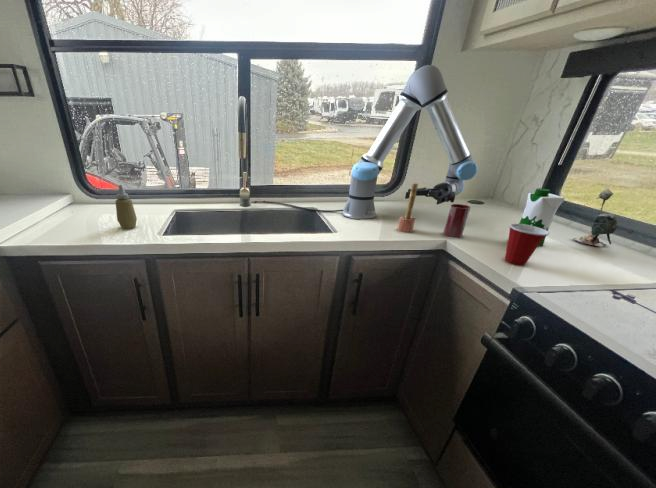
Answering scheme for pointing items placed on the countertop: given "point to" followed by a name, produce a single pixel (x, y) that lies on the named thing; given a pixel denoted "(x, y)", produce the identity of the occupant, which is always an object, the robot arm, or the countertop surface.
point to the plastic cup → (523, 242)
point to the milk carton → (541, 209)
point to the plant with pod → (601, 224)
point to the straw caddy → (406, 224)
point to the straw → (411, 200)
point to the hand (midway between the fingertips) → (421, 198)
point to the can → (456, 220)
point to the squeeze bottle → (125, 210)
